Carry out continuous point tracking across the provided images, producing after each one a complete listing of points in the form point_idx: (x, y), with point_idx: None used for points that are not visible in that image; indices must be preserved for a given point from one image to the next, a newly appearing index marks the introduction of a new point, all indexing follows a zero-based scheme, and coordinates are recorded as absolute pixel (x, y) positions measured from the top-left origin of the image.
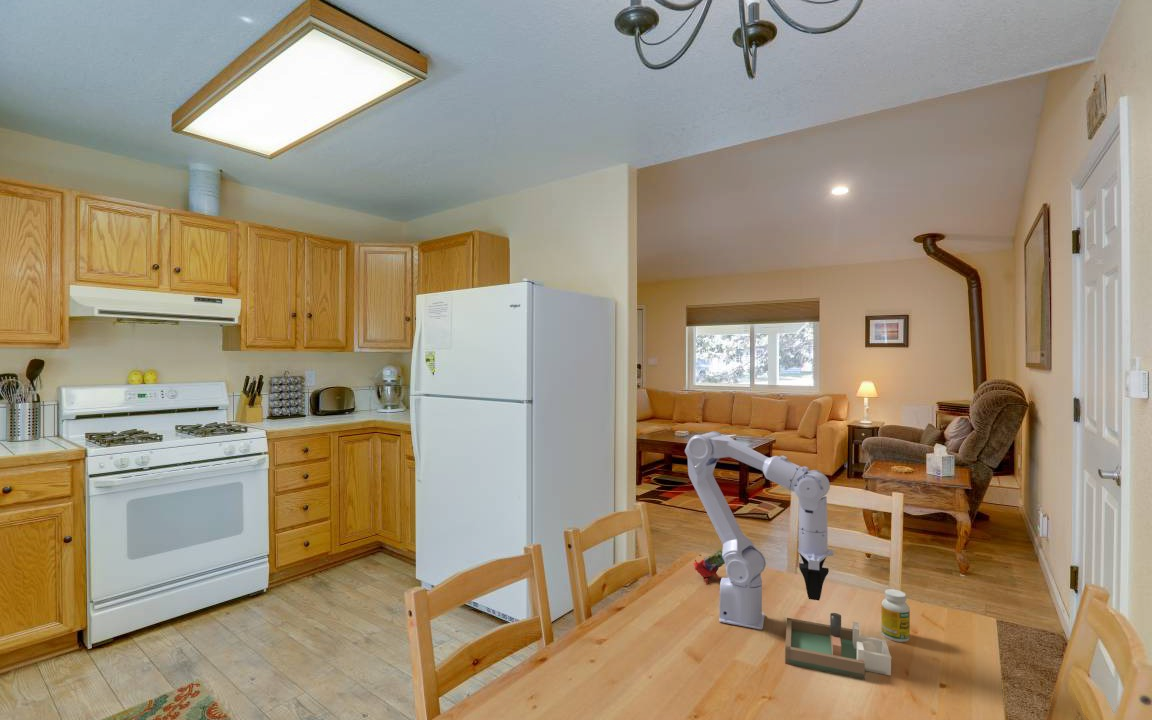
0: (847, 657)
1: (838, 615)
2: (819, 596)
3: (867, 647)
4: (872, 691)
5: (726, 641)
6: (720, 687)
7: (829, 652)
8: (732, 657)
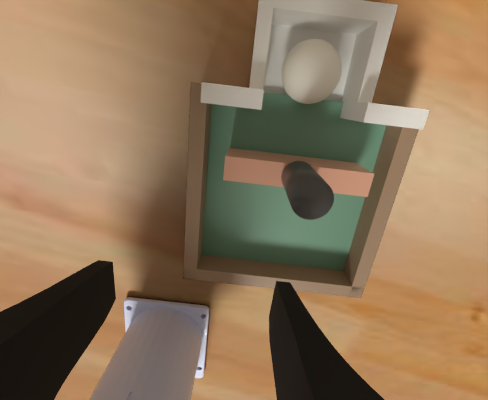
0: (319, 138)
1: (311, 189)
2: (298, 296)
3: (335, 79)
4: (452, 101)
5: None
6: (446, 373)
7: None
8: None
